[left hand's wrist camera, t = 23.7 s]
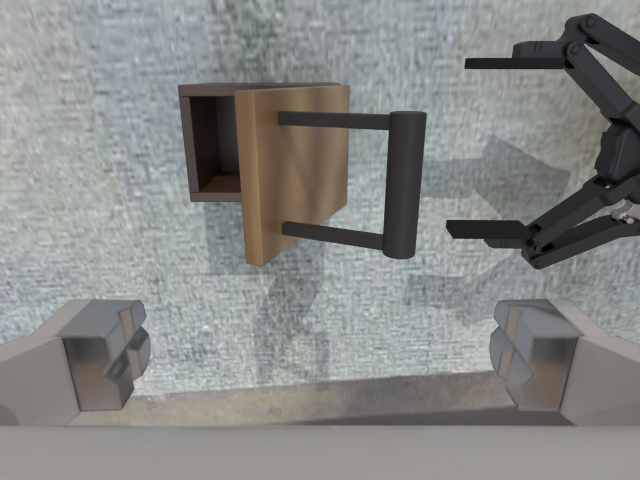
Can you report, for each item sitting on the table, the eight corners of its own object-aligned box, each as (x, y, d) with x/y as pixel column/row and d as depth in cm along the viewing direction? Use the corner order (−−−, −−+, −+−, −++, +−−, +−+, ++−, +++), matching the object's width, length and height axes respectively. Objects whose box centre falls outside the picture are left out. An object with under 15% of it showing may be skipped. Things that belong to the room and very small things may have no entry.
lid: (245, 263, 25) (401, 293, 21) (233, 90, 22) (416, 93, 18) (334, 203, 37) (444, 216, 33) (335, 85, 33) (458, 86, 30)
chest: (215, 177, 46) (190, 202, 37) (207, 83, 43) (177, 85, 34) (336, 177, 46) (340, 201, 37) (337, 82, 43) (342, 85, 34)
